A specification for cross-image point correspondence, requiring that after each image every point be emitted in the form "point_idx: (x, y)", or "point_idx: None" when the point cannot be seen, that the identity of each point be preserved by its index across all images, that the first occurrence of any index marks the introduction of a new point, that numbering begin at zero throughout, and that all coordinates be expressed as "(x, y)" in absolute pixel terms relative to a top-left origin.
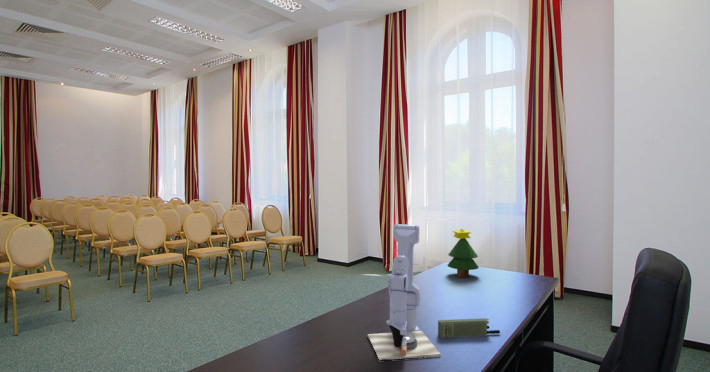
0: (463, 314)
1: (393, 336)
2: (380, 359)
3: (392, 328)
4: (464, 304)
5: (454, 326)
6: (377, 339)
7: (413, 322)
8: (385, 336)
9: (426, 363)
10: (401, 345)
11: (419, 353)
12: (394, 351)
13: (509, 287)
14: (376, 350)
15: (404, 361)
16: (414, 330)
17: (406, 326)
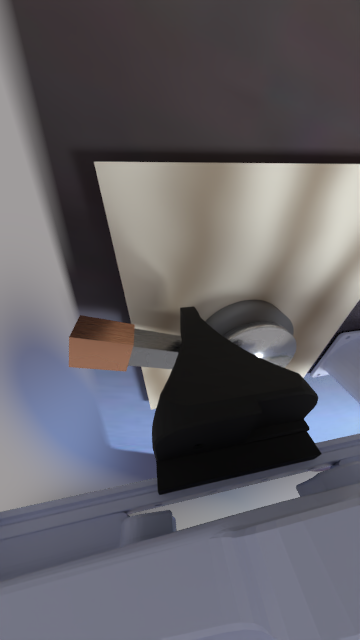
0: (315, 428)
1: (190, 347)
2: (99, 177)
3: (198, 433)
4: (344, 429)
5: None
6: (350, 222)
7: (344, 385)
8: (346, 274)
9: (105, 374)
10: (147, 349)
11: (157, 370)
12: (187, 290)
13: None
14: (224, 174)
15: (114, 314)
16: (317, 366)
17: (346, 359)
